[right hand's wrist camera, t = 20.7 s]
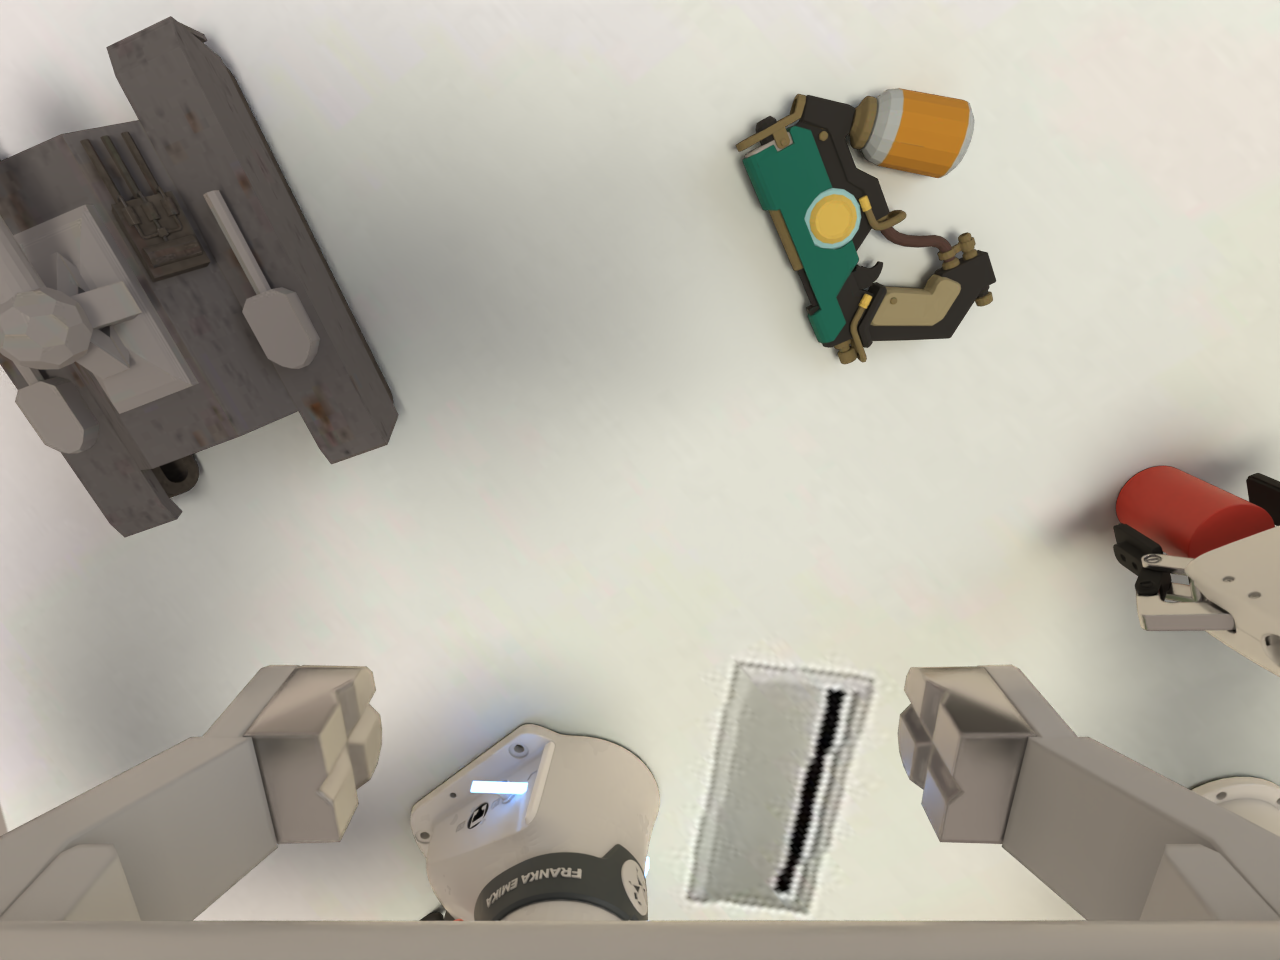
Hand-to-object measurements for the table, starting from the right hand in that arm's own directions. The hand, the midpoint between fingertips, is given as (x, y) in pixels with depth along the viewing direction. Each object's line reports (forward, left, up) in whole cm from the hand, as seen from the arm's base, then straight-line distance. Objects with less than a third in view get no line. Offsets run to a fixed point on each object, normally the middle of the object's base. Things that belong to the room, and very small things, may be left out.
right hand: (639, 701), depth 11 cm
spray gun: (+16, -2, -40) cm, 43 cm away
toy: (-25, +16, -40) cm, 50 cm away
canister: (+27, -30, -40) cm, 57 cm away
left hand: (+27, -30, -36) cm, 54 cm away
